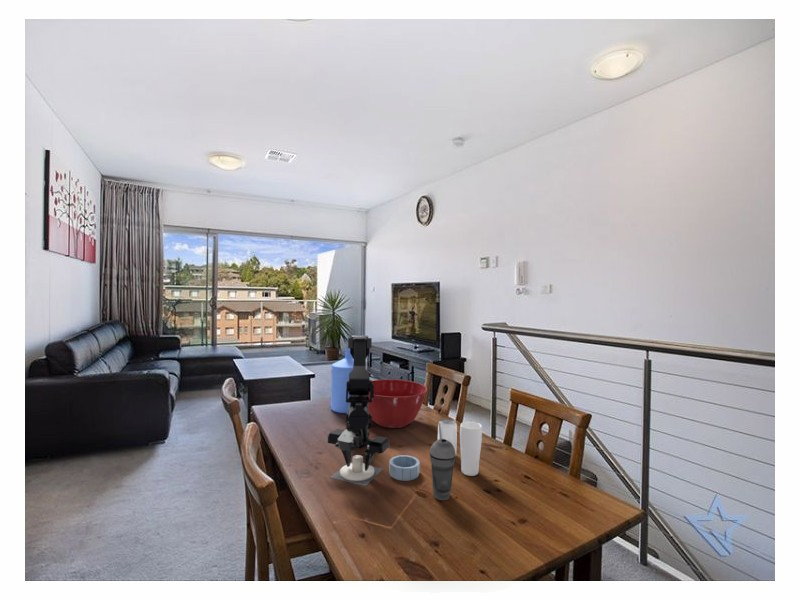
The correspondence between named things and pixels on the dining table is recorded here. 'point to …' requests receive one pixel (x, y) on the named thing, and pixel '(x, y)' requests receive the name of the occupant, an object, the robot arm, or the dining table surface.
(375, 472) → the mat
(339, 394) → the water jug
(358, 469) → the lid
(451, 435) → the can
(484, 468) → the dining table surface
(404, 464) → the bowl
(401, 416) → the mixing bowl
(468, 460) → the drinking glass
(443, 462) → the beverage cup
